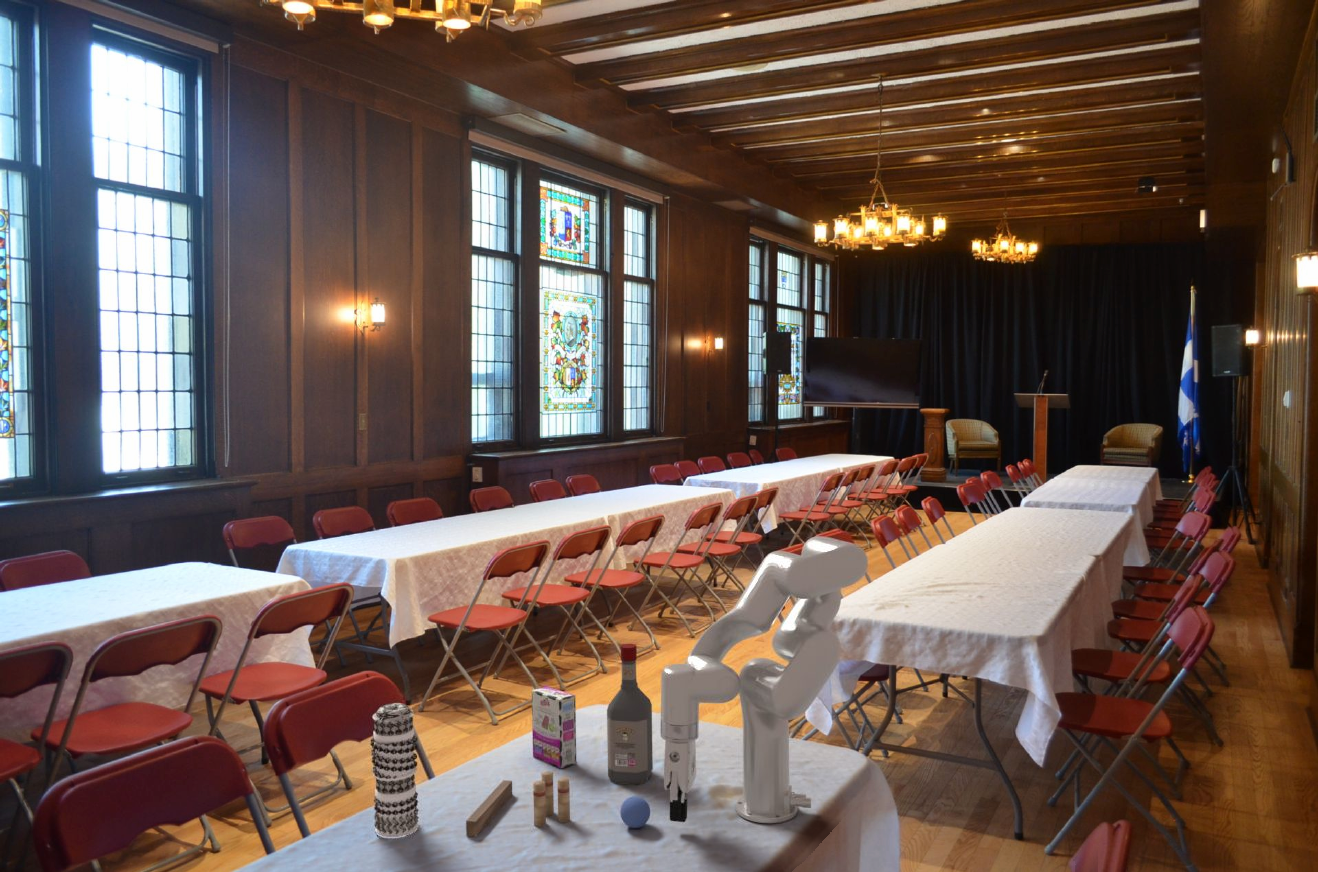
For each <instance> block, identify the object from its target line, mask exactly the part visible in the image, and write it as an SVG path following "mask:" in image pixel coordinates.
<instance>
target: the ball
mask: <svg viewBox="0 0 1318 872" xmlns="http://www.w3.org/2000/svg"><path fill="white" fill-rule="evenodd" d="M619 814H620V818H621V820H622V822H623V823H624V824H625V825H626V826H627V827H629V828H631V829H639V828H642V827H643V826H644V825H646V823H647V822H649V819H650V817H651V808H650V805H649V803H648V801H647V800H646V799H645V798H643V797H641V796H639V795H638V796H637V795H632V796H630V797H627V798H626V799H625V800H624V801H623V802H622V804H621V807H620V813H619Z"/></svg>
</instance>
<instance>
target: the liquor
mask: <svg viewBox="0 0 1318 872" xmlns="http://www.w3.org/2000/svg"><path fill="white" fill-rule="evenodd" d="M637 659H638V656H637V645H636V644H634V643H623V644H620V660H621V683H620V689H619V690H618V691H617V693H616V694H615V696H614V697H613V698H612V699H611V701H610V702H609V704H608V706H607V709H606V729H607V730H606V732H607V736H606V737H607V740H606V741H607V777H608V778H609V780H611V781H612V782H613V783H614V784H623V785H635V786H636V785H640V784H645V783H647V781H648V779H649V778H650V776H651V774H652V773H653V772H652V771H653V769H654V767H653V761H654V760H653V758H654V757H653V704H652V702H651V699H650V698H649V697H648V696H647V695H646V694H645V693H644V691H642V690H641V689H640V688H639V687H638V686H639V683H638V681H637Z"/></svg>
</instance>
